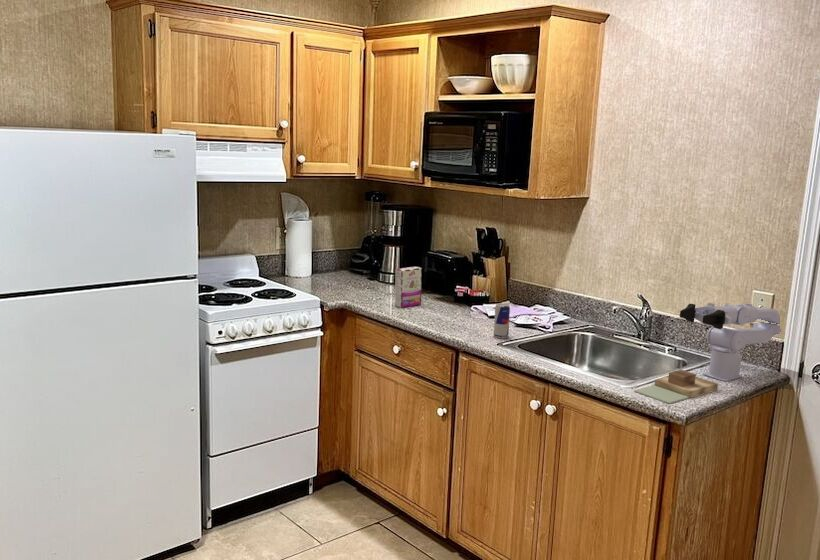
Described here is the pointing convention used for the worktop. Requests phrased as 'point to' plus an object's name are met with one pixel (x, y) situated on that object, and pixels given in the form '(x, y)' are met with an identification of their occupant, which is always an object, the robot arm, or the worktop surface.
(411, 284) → the candy bar box
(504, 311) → the energy drink
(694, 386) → the birch board
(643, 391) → the sage mat
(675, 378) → the walnut block
